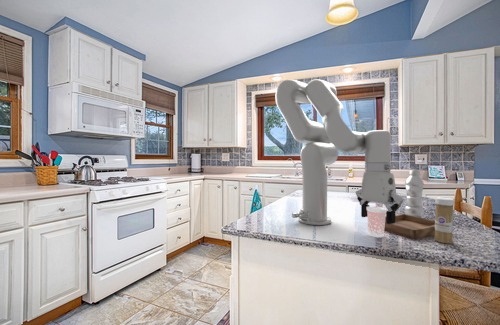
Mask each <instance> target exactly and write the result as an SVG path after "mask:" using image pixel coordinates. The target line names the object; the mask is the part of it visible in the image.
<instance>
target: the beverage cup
mask: <svg viewBox="0 0 500 325" xmlns="http://www.w3.org/2000/svg"><path fill="white" fill-rule="evenodd" d="M366 208H367V209H366V210H367V216H368V217H367V233H368V235H369V236H371V237H374V238H384V236H385V230H384V228H385V217H386V212H387V211H388V209H387V208H386V207H382V206H378V203H375V206H374V205H372V206H371V205H369V207H366Z"/></svg>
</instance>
